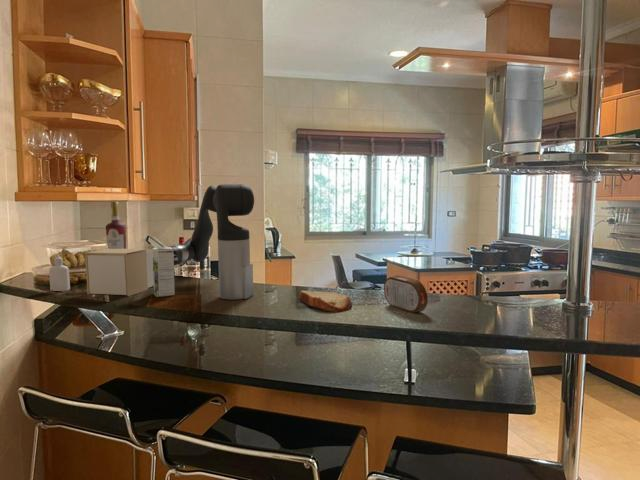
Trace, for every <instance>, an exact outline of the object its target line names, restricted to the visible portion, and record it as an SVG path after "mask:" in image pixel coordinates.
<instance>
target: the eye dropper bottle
mask: <svg viewBox="0 0 640 480" xmlns="http://www.w3.org/2000/svg"><path fill="white" fill-rule="evenodd" d="M63 258H64V257H63ZM63 258H62V257H61V256H60V254H59V253H56V257H55V258H54V259H53V264H54V265H53V266H51V267H49V269H48V270H49V271H48V272H49V274H48V275H49V276H48V277H49V287H50V288H49V289H50V291H51V290H53V291H62V292H69V291H70V290H71V282H70V279H71V278H70V269H69V267H68V266H66V265H64V261H63ZM62 292H61V293H62Z"/></svg>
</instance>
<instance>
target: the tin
mask: <svg viewBox="0 0 640 480" xmlns="http://www.w3.org/2000/svg"><path fill="white" fill-rule="evenodd" d="M383 291H384V298H385V300H386V301H387V303H388V304H389V305H390V306H391V307H393V308H396V309H399V310H403V311H405V312H408V313H412V314H414V313H420V312H423V311H424V310H425V309H426V308H427V306H428V301H429V300H428V299H429V298H428V292H427V290H426V287H425V285H424V284H423V283H422V282H421V281H419V280H418V279H414V278H411V277H406V276H403V275H398V274H396V275H394V276H393V275H392V276H390V277H388V278H386V279H385V281H384V283H383Z"/></svg>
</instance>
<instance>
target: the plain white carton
mask: <svg viewBox="0 0 640 480" xmlns="http://www.w3.org/2000/svg"><path fill="white" fill-rule="evenodd" d="M145 249H146V260H147V281H148V289H149V288H151V287H154V284H153V248H150V249H149V248H145ZM87 257H88V273H89V290H90V293H91V294H92V295H93V294H97V295H114V296H115V295H117V296H120V295H121V296H127V281H126V262H125V255H102V254H91V255H87ZM91 294H90V295H91Z"/></svg>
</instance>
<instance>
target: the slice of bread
mask: <svg viewBox="0 0 640 480" xmlns="http://www.w3.org/2000/svg"><path fill="white" fill-rule="evenodd" d="M298 299H299V300H300V301H301V302H302V303H304V304H306V305H308V306H309V307H312V308H314V309H317V310H321V311H324V312H328V313H329V312H330V313H343V312H347V311H349V310H350V308H351V307H352V306H353V302H352V300H351V298H350V297H349V296H348V295H346V294H343V293H335V292H330V291H329V292H328V291H320V290H319V291H318V290H317V291H316V290H301V291H300V293H299V296H298Z"/></svg>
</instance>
